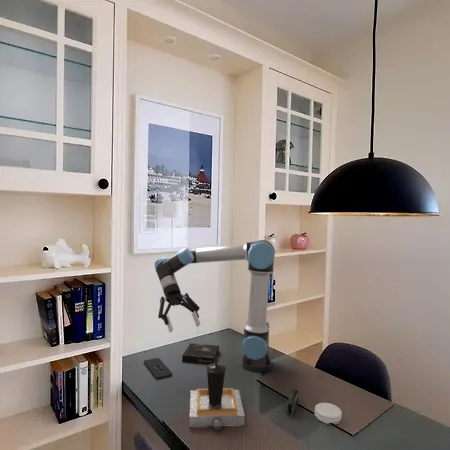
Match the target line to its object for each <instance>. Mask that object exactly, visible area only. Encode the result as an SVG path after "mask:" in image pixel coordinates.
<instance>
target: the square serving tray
mask: <svg viewBox="0 0 450 450" xmlns="http://www.w3.org/2000/svg"><path fill="white" fill-rule="evenodd" d="M189 399H190V401H189V429H190V427H192V428H207V427H206V426H213V427H212V428H213V429H214V431H216V432H219V431H221V430H222V428H223V427H222V426H225V425H227V426H228V425H234V426H233V427H236V426H235V425H244V426H245V419H246V418H245V417H246V415H245V411H244V407H243V403H242V397H241V393H240V390H239V389H234V388H233V387H227V388H226V387H225V388H224V387H223V393H222V401H221V404H220V405H217V406H214V405H211V404H210V403H209V394H208V388H197V389H195V390H190V398H189Z"/></svg>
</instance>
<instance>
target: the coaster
mask: <svg viewBox="0 0 450 450" xmlns="http://www.w3.org/2000/svg"><path fill="white" fill-rule="evenodd" d="M342 415H343V412H342V410H341V409H340V407H339V406H337V405H335V404H332V403H330V402H319V403H317V404H316V405H315V406H314V417H315V416H316V417H317V418H318V419H319V420H320V421H323V422H325V423H333V422H337V421H340V420H341V418H342ZM342 419H343V418H342Z"/></svg>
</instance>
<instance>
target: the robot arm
mask: <svg viewBox="0 0 450 450" xmlns="http://www.w3.org/2000/svg"><path fill="white" fill-rule="evenodd" d="M275 253H276V252H275V247H274V246H273V244H272V243H271V242H270V241H269V240H266V239H260V240H255V241H250V242H249V241H248V242H246V243H245V244H235V245H225V246H211V247H199V248H187V247H184V248H183V249H181V250H179V251H178V252H176V253H175V254H174V255H172V256H171V257H169V258H167V257H165V256H164V257H161V258H158V259H156V261H155V262H154V268H155V272H156V275H157V277H158V279H159V283H160V286H161V289H162V293H163V294H164V296H161V297H160V299H159V303H160V305H159V310H158V314H157V317H158V319H161V320H163V322H164V324H165V326H167V329H168V332H169V333H172V332H173V331H174V328H173V323H172V321H171V319H170V316H169V315H168V313H169V312H170V309H171V307H172V306H173V307H175V306H179V305H180V306H182V307H184V308H185V309H187V310H188V311H190V312H191V315H192V318H193V321H194V324H195V326H196V328H198V327H200V325H201V322H200V319H199V318H200V316H199V313H198V311H199V310H200V309H201V307H200V305H198V304H197V303H196V302H195V300H193V299H192V298H191V296H190V295H189V293H187V292H186V293H185V294H182V292H181V288H180V286H179V283H178V280H177V278H176V275H175V273H177V272H178V271H180V270H181V269H183V268H184V267H187V266H188V265H190V264H201V263H203V264H204V263H215V262H230V261H243V260H245V261H247V262H248V264H247V270H248V272H249V273H250V284H249V297H248V299H249V300H248V315H247V320H246V324H245V325H244V326H243V339H242V343H241V349H242V353H243V355H242V358H241V366H242V367H243V368H244V369H245V370H247V371H250V372H255V373H258V372H259V373H263V372H266V371H267V372H268V371H269V370H270V369H271V368H272V358H271V356H270V351H269V348H270V347H269V343H270V341H269V340H270V322H269V321H267V318H268V317H267V316H268V302H269V288H270V287H269V286H270V275H271V274H272V273H273V272H274V264H275V263H274V261H275V257H276V256H275V255H276V254H275ZM165 303H168V305H166V308H165V307H164V306H165ZM164 308H165V311H164Z"/></svg>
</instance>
